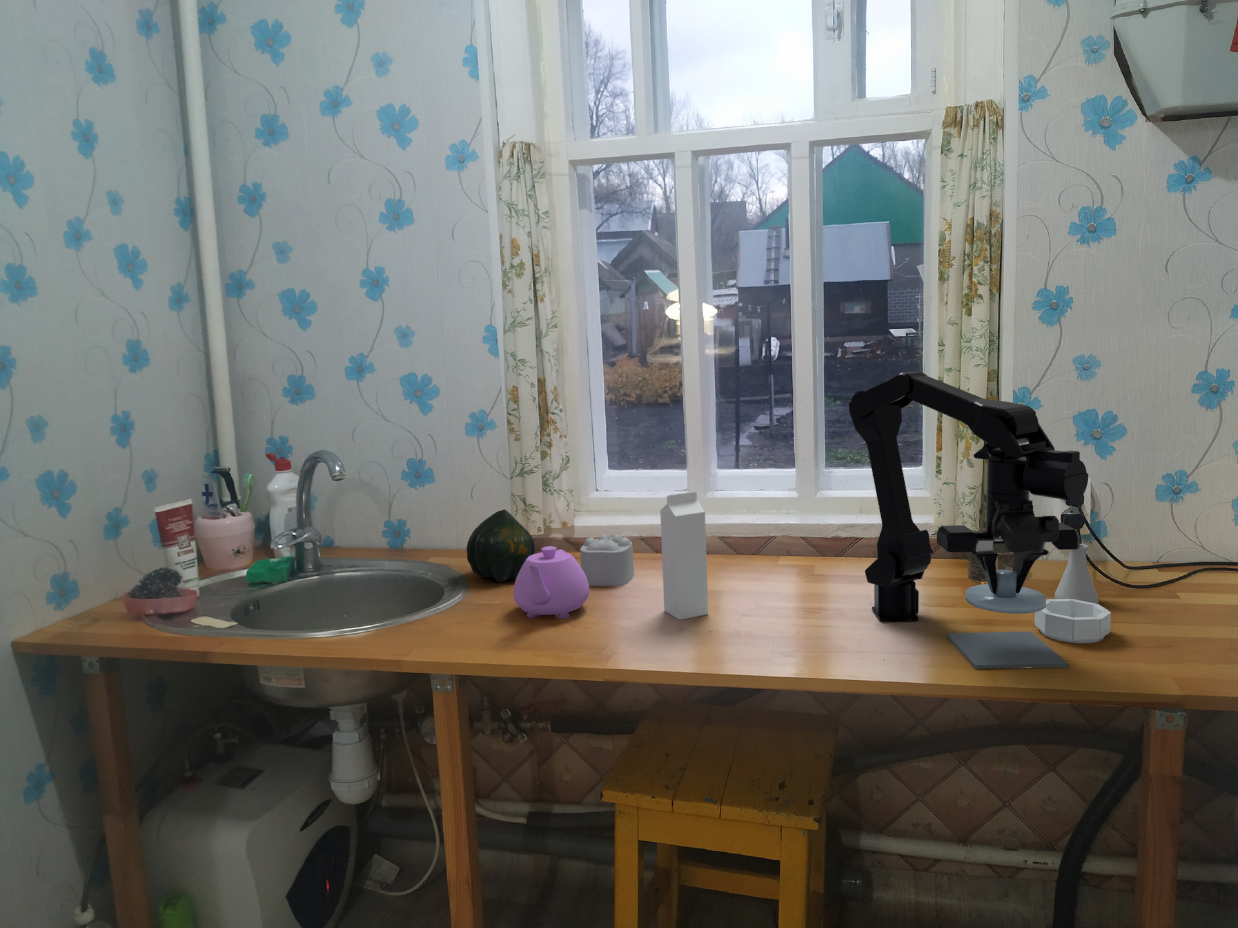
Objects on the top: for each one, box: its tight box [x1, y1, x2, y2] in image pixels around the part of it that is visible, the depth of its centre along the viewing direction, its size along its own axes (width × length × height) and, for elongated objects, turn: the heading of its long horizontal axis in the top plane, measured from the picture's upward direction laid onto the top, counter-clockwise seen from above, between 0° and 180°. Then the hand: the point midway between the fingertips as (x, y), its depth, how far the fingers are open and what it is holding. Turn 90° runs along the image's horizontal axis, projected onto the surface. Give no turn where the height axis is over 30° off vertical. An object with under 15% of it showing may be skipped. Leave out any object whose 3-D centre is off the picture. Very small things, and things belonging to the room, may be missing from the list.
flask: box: [1053, 543, 1100, 604], centre depth 146 cm, size 7×7×10 cm
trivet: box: [946, 630, 1070, 670], centre depth 126 cm, size 13×13×1 cm
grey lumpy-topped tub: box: [579, 533, 635, 587], centre depth 174 cm, size 10×13×9 cm
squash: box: [466, 509, 536, 583], centre depth 178 cm, size 14×15×15 cm
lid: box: [964, 569, 1047, 615], centre depth 124 cm, size 11×11×4 cm
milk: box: [659, 491, 709, 621], centre depth 148 cm, size 6×6×22 cm
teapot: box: [512, 545, 591, 620], centre depth 153 cm, size 20×14×12 cm
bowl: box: [1034, 598, 1112, 645], centre depth 131 cm, size 10×10×4 cm
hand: (1004, 592), depth 124 cm, fingers closed on lid, 3 cm apart
